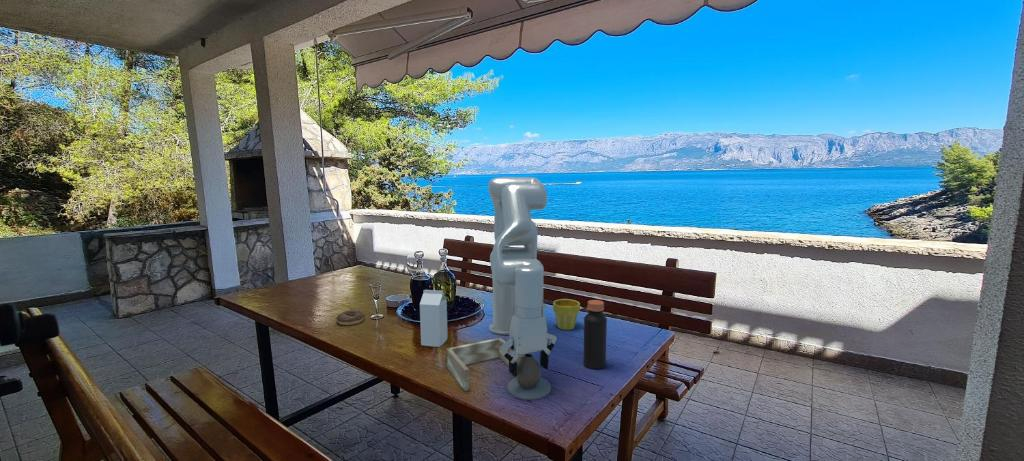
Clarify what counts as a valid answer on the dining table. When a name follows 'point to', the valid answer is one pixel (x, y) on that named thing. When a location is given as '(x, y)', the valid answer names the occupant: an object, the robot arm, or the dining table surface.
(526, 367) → the vase
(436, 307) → the milk carton
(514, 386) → the mat
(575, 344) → the dining table surface
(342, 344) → the dining table surface
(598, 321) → the bottle
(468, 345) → the holder
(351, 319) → the donut
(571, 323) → the plant pot
